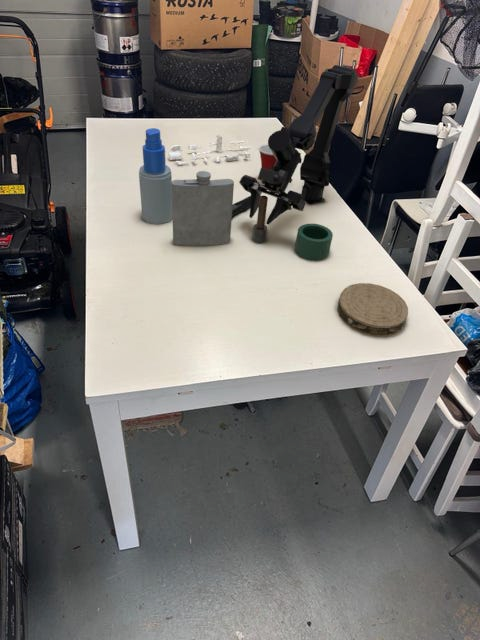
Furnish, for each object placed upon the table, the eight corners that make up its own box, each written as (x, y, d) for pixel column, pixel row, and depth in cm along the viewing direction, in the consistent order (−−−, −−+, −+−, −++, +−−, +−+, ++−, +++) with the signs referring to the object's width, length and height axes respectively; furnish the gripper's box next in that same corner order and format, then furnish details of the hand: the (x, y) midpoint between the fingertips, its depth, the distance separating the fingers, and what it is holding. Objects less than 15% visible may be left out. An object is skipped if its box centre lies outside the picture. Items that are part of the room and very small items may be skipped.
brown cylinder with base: (261, 234, 133) (266, 192, 124) (268, 241, 130) (274, 199, 122) (249, 237, 131) (253, 195, 123) (256, 244, 129) (261, 201, 120)
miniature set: (247, 145, 181) (258, 162, 174) (159, 157, 172) (167, 175, 165) (248, 130, 176) (259, 147, 169) (158, 141, 167) (166, 159, 160)
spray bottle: (153, 206, 141) (148, 122, 125) (178, 214, 138) (176, 129, 122) (136, 218, 135) (128, 131, 118) (162, 227, 132) (158, 139, 116)
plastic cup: (276, 173, 166) (281, 140, 158) (291, 186, 158) (297, 152, 151) (249, 177, 162) (252, 143, 154) (264, 190, 155) (268, 155, 147)
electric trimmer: (258, 205, 147) (259, 196, 145) (227, 221, 137) (228, 212, 135) (248, 201, 148) (249, 192, 146) (218, 217, 139) (218, 207, 137)
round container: (315, 239, 133) (318, 220, 129) (335, 256, 127) (339, 237, 123) (288, 246, 129) (291, 227, 125) (307, 263, 123) (311, 244, 119)
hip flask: (229, 237, 131) (233, 169, 117) (231, 244, 128) (236, 176, 115) (172, 239, 128) (170, 170, 114) (174, 247, 125) (172, 177, 111)
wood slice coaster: (416, 332, 105) (421, 323, 103) (352, 339, 102) (355, 329, 100) (386, 290, 117) (389, 280, 115) (327, 295, 113) (329, 285, 111)
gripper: (245, 145, 122) (219, 198, 122) (308, 165, 115) (280, 221, 115) (258, 165, 132) (234, 214, 132) (316, 184, 125) (291, 236, 125)
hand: (258, 220), depth 126 cm, fingers open, 5 cm apart
